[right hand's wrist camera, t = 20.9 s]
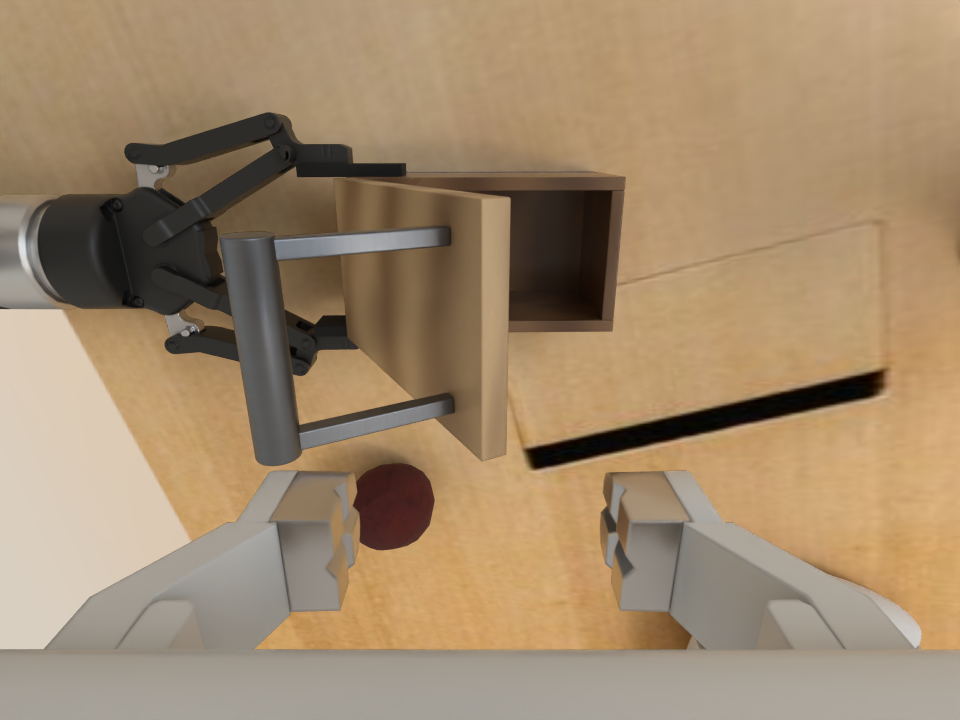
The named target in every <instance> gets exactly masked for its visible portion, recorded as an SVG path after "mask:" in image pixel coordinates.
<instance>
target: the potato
mask: <svg viewBox="0 0 960 720" xmlns="http://www.w3.org/2000/svg"><path fill="white" fill-rule="evenodd" d="M356 486H357V494H356V497H355V500H354V503H353V506H354V508H355V509H356V510H357V511H358V512H359V518H360V540H359V541H360V542H361V543H362V544H364V545H366V546H368V547H369V548H372V549H376V550H390V549H396V548H400V547H404V546H407V545H409V544H411V543H413V542H415V541H417V540H418V539H419V537H420V536H421V535H422V534H423V533H424V531H425V530H426V529H427V528H428V526H429V525H430V520H431V516H432V511H433V506H434V496H433V492H432V487H431V483H430V481H429V479H428V478H427V477H426V475H425V474H424V473H423V472H422V471H420V470H419V469H417V468H415V467H413V466H412V465H406V464H401V463H397V464H388V465H381V466H378V467H376V468H374V469H371V470H369V471H367V472H366V473H365V474H363V475H362V476H361V477H360V478H359V480H358V481H357V482H356Z"/></svg>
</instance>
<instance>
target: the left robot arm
mask: <svg viewBox="0 0 960 720" xmlns="http://www.w3.org/2000/svg"><path fill="white" fill-rule="evenodd" d="M267 140H270V141H271V143H272V146H273V148H274V149H272V150H271V151H269V152H268V153H266V154H265V155H263V156H262V157H260V158H258V159H257V160H255V161H254V162H252V163H251V164H249V165H248V166H246V167H244V168H243V169H241V170H240V171H238V172H237V173H235V174H234V175H232V176H230V177H229V178H227V179H226V180H224V181H223V182H221V183H219V184H218V185H216V186H215V187H213V188H212V189H210V190H209V191H207V192H205V193H204V194H202V195H201V196H199V197H197V198H195V199H192V200H190V201H189V202H187V203H184V202H183V201H181V200H180V199H178V198H177V197H175V196H173V195H172V194H170V193H169V192H167V191H166V190H164V189H162V188H161V184H162V181H163V180H164V179H166V178H170V177H172V176H174V175H175V172H176V165H185V164H192V163H196V162H199V161H202V160H205V159H209V158H212V157H215V156H218V155H222V154H225V153H228V152H231V151H235V150H238V149H241V148H244V147H248V146H251V145H254V144H257V143H261V142H264V141H267ZM124 153H125V156H126V158H127V159H128V160H129V161H130V162H131V163H134V164H135V166H136V173H137V181H138V188H136V189H134V190H133V191H132V192H130V193H128V194H68V195H63V196H58V195H0V309H73V308H82V309H138V308H145V309H150V310H153V311H155V312H157V313H160V314H162V315H165V319H166V322H167V326H168V329H169V333H170V336H171V337H170V338H168V339H167V340H166V341H165V348H166V350H167V351H168V352H170V353H172V354H182V353H194V352H202V353H206V354H210V355H214V356H218V357H223V358H227V359H231V360H235V361H239V355H238V348H237V342H236V336H235V330H231V329H227V328H222V327H217V326H204V322H203V321H202V320H198V319H195V318H191V317H189V316H188V315H187V314H186V312H185V309H186V308H187V307H189V306H190V305H191V304H192V303H193V302H196V303H198V304H200V305H202V306H204V307H206V308H209V309H214V310H220V311H222V312H224V313H226V314H228V315H230V316H232V312H231V306H230V300H229V294H228V288H227V281H226V277H224V276H222V275H220V273H222V272H223V266H222V261H221V259H220V256H219V254H218V252H217V242H218V236H217V230H216V227H213V226H212V224H211V223H210V221H212V220H214V219H215V218H217V217H218V216H220V215H221V214H223V213H225V212H226V210H228V209H229V208H231V207H232V206H234V205H235V204H237V203H239V202H240V201H242V200H243V199H245V198H247V197H248V196H250V195H251V194H253V193H254V192H256V191H258V190H259V189H261V188H262V187H264V186H266V185H267V184H269V183H270V182H272V181H273V180H275V179H277V178H278V177H280V176H281V175H283V174H285V173H286V172H288V171H289V170H291V169H292V168H294V167H296V171H297V177H360V176H404V175H406V163H353V156H352V148H351V147H348V146H346V145H342V144H303V143H301V142H299V141H298V140H297V138H296V137H295V135H294V132H293V130H292V125H291V121H290V120H289V118H287V117H286V116H284V115H280V114H275V113H270V112H269V113H264V114H260V115H257V116H254V117H251V118H247V119H244V120H241V121H238V122H235V123H231V124H228V125H225V126H222V127H219V128H215V129H212V130H209V131H206V132H203V133H199V134H196V135H193V136H190V137H187V138H183V139H180V140H177V141H174V142H170V143H167V144H164V145H163V144H146V143H130V144H128V145H127V146H126V147H125V152H124ZM284 311H285V318H286V326H287V334H288V341H289V349H290V357H291V365H292V372H293V374H294V375H298V376H303V375H305V374H306V373H307V372H308V371H309V370H310V368H311V367H312V366H313V364H314V363H315V361H316V359H317V353H318V351H319V350H339V349H358V348H359V347H358V346H356V345H355V344H354V343H353V342H352V341H351V340H350V339H349V338H348V336H347V325H346V315H333V316H322V318H321V319H320V320H319V321H318V322H317V323H316V324H313V323H311V322H309V321H307V320H305V319H303V318H301V317H299V316H297V315H295V314H293V313H291V312H289V311H287V310H285V309H284ZM239 362H240V361H239Z"/></svg>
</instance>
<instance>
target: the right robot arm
mask: <svg viewBox="0 0 960 720" xmlns="http://www.w3.org/2000/svg"><path fill="white" fill-rule="evenodd" d="M356 494H357V486H356V478H355V475H354V473H353V472H334V471H298V470H295V471H272V472H270V473H269V474H268V475H267V476H266V478H265V479H264V481H263V482H262V484H261V485H260V487H259V488H258V490H257V491H256V493H255V494H254V496H253V497H252V499H251V500H250V502H249V503H248V505H247V506H246V508H245V509H244V511H243V512H242V514H241V515H240V517H239V518H238V520H237V521H236V522H227V523H225V524H224V525H222V526H220V527H218V528H216V529H214V530H212V531H211V532H209V533H207V534H205V535H203V536H201V537H200V538H198V539H196V540H194V541H192V542H190V543H189V544H187V545H185V546H183V547H181V548H179V549H178V550H176V551H174V552H172V553H170V554H168V555H166V556H165V557H163V558H161V559H159V560H157V561H155V562H154V563H152V564H150V565H148V566H146V567H144V568H142V569H141V570H139V571H137V572H135V573H133V574H131V575H130V576H128V577H126V578H124V579H122V580H120V581H119V582H117V583H115V584H113V585H111V586H109V587H107V588H106V589H104V590H102V591H100V592H98V593H96V594H95V595H93V596H91V597H90V598H89V599H88V600H87V601H86V602H85V603H84V604H83V605H82V606H81V608H80V609H79V610H78V611H77V612H76V613H75V614H74V616H73V617H72V618H71V619H70V620H69V621H68V622H67V624H66V625H65V626H64V627H63V628H62V629H61V630H60V631H59V632H58V634H57V635H56V636H55V637H54V638H53V639H52V640H51V642H50V643H49V644H48V645H47V646H46V647H45V648H44V649H0V720H960V650H917V649H916V648H915V647H914V646H913V645H912V644H911V643H910V641H909V640H908V639H907V638H906V637H905V636H904V635H903V633H902V632H901V631H900V630H899V629H898V628H897V627H896V625H895V624H894V623H893V622H892V621H891V620H890V619H889V617H888V616H887V615H886V614H885V613H884V612H883V611H882V609H881V608H880V607H879V606H878V605H877V604H876V603H875V601H874V600H873V599H872V598H871V597H869V596H867V595H865V594H863V593H861V592H860V591H858V590H856V589H854V588H852V587H850V586H849V585H847V584H845V583H843V582H841V581H839V580H837V579H836V578H834V577H832V576H830V575H828V574H826V573H825V572H823V571H821V570H819V569H817V568H815V567H814V566H812V565H810V564H808V563H806V562H804V561H803V560H801V559H799V558H797V557H795V556H793V555H792V554H790V553H788V552H786V551H784V550H782V549H781V548H779V547H777V546H775V545H773V544H771V543H770V542H768V541H766V540H764V539H762V538H760V537H759V536H757V535H755V534H753V533H751V532H749V531H747V530H746V529H744V528H742V527H740V526H738V525H736V524H735V523H733V522H724V521H723V520H722V518H721V517H720V515H719V514H718V512H717V511H716V509H715V508H714V506H713V505H712V504H711V502H710V501H709V499H708V498H707V496H706V495H705V493H704V492H703V490H702V489H701V487H700V486H699V484H698V483H697V481H696V480H695V478H694V477H693V475H692V474H691V473H690V472H689V471H687V470H679V471H652V472H612V473H606V475H605V479H604V485H603V494H604V497H605V500H606V503H607V506H606V508H605V509H604V510H603V511H602V512H601V519H600V540H601V548H602V553H603V557H604V561H605V564H606V565H608V566H609V567H610V568H611V569H612V576H611V584H612V587H613V590H614V593H615V596H616V600H617V603H618V606H619V609H620V611H655V612H670V615H671V616H672V617H673V618H674V619H675V620H676V621H677V622H678V623H679V624H680V625H681V626H682V627H684V628H685V629H686V630H687V631H688V632H689V633H690V634H691V635H692V636H693V637H694V638H695V639H696V640H697V641H698V642H699V643H700V644H701V645H702V646H704V647H705V648H706V649H568V650H536V649H255V648H256V647H257V646H258V645H259V644H260V643H261V642H262V641H263V640H264V639H265V638H266V637H267V636H268V635H269V634H270V633H272V632H273V631H274V630H275V629H276V628H277V627H278V626H279V625H280V624H281V623H282V622H283V621H284V620H285V619H286V618H287V617H288V616H289V615H290V612H304V611H339V610H340V609H341V606H342V603H343V600H344V597H345V593H346V590H347V587H348V584H349V576H348V569H349V568H350V567H351V566H353V565H354V564H355V561H356V557H357V553H358V547H359V540H360V518H359V512H358V511H357V510H356V509H355V508H354V506H353V503H354V500H355V497H356Z"/></svg>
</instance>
